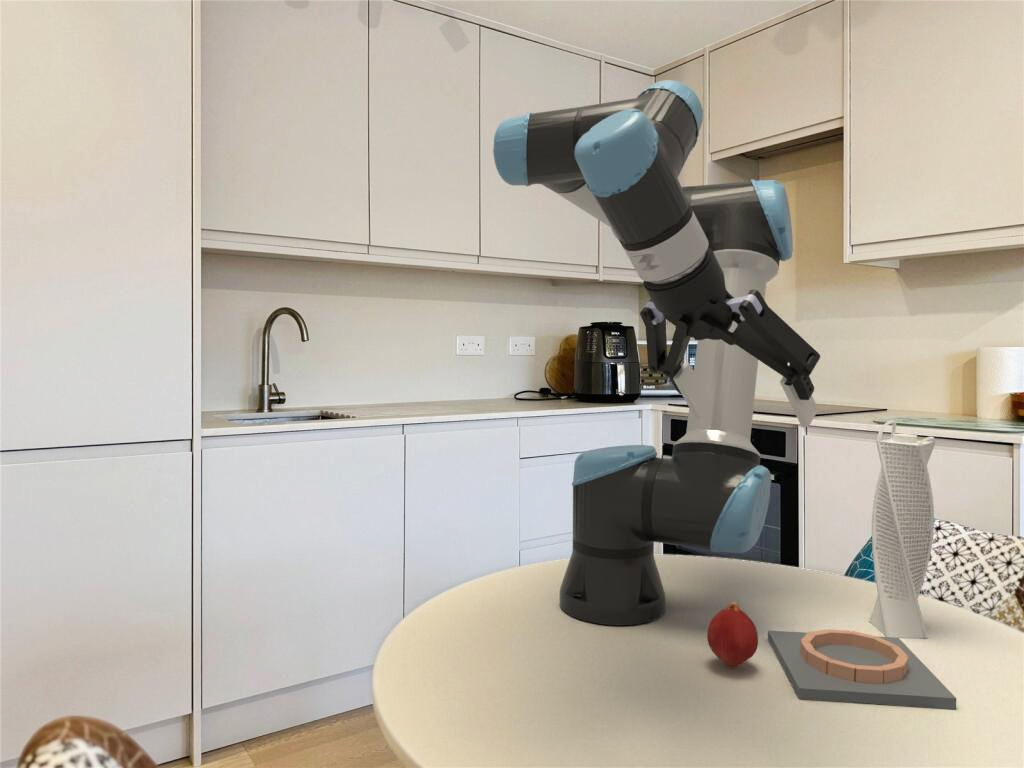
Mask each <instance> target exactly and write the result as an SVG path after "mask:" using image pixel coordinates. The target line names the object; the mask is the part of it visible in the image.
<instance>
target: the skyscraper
mask: <svg viewBox="0 0 1024 768" xmlns="http://www.w3.org/2000/svg"><path fill="white" fill-rule="evenodd" d="M888 425H889V426H890V425H891V426H892V427H891V432H890V433H891V434H890V438H885V439H883V440H881V439H882V435H883V433H884V430H885V428H886V427H887V426H888ZM896 429H897V422H896V421H895V420H893V419H890V420H888V421H885V423H884V424H882V426H881V427H880V429H879V430H878V433H877V436H876V440H875V443H876V447H877V451H878V457H879V461H880V465H881V466H880V469H879V470H880V471H879V474H878V478H877V482H876V485H875V491H874V496H873V497H874V498H873V504H872V513H871V514H872V515H871V547H872V560H873V568H874V570H873V571H874V576H875V577H874V578H875V584H876V589H877V596H876V598H875V601H874V605H873V608H872V611H871V614H870V617H869V619H868V622H869V623H870V624H872V625H873V626H874V627H875V628H877V630H879V632H881V633H882V634H883V635H884V636H885V637H896V638H899V639H907V638H908V639H928V638H929V637H928V633H927V629H926V626H925V621H924V618H923V616H922V615H923V614H922V611H921V607H920V603H919V597H920V593H921V590H922V588H923V585H924V582H925V578H926V574H927V570H928V566H929V563H930V557H931V553H932V548H933V539H934V531H935V530H934V528H935V509H934V508H935V507H934V497H933V491H932V490H933V489H932V485H931V479H930V474H929V470H928V469H929V468H928V463H929V461H930V458H931V455H932V453H933V449H934V448H935V445H936V438H935V437H934V436H927V437H924V438H923V439H922V440H918V435H917V434H913V433H911V434H910V433H896Z"/></svg>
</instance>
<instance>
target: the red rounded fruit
mask: <svg viewBox="0 0 1024 768" xmlns="http://www.w3.org/2000/svg"><path fill="white" fill-rule="evenodd" d="M706 637H707V644H708V646H709V648H710V649H711V652H712V653H713V654H714V655H715V656H716V657H717V658H718V660H720V661H721V662H722V663H724V664H725V666H726V667H728V668H729V669H736V668H738V667H739V666H741V665H742V664H743V663H745V662H746V661H748V660H749V659H750V658H752V657H753V656H754V655H755V653H757V649H758V646H759V635H758V629H757V627H756V625H755V623H754V621H753V620H752V619H751V617H750V616H748V615H747V613H746V612H744V611H743V610H741V609H740V607H739V604H738V602H736V601H732V602H730V604H729V605H727V607H726V608H724V609H721V610H720V611H718V612H717V613H716V614H715V615H714V616H713V618H711V620H710V622H709V624H708V627H707V636H706Z"/></svg>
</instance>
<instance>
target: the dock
mask: <svg viewBox="0 0 1024 768" xmlns="http://www.w3.org/2000/svg"><path fill="white" fill-rule="evenodd" d="M767 640H768V643H769V645H770V646H771V648H772V650H773V652H774V654H775V656H776V658H777V660H778V662H779V664H780V665H781V668H782V670H783V671H784V673H785V675H786V677H787V679H788V681H789V683H790V685H791V687H792V688H793V690H794V692H795V694H796V696H797V698H798V700H812V701H823V702H824V701H826V702H827V701H828V702H839V703H854V704H870V705H871V704H872V705H885V706H901V707H915V708H916V707H917V708H931V709H932V708H933V709H945V710H946V709H947V710H957V697H956V696H955V695H954V694H953V693H952V692H951V691H950V690H949V689H948V687H946V685H944V683H942V682H941V681H940V679H939V678H938V677H937V676H936V675H935V674H934V673H933V672H932V671H931V670H930V669H929V668H928V667H927V666H926V665H925V664H924V663H923V662H922V661H921V660H920V659H919V657H918V656H917V655H916V654H915V653H914V652H913V651H912V650H911V649H910V648H909V647H908V646H907V645H906V643H904V642H903V641H902V640H901V638H896V637H886V636H876V635H873V634H872V635H871V634H868V633H864V632H859V631H854V630H847V629H845V630H844V629H830V628H829V629H821V630H816V631H815V630H814V631H810V632H809V631H808V632H805V631H803V632H801V631H788V630H787V631H785V630H784V631H783V630H767Z"/></svg>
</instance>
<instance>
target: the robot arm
mask: <svg viewBox="0 0 1024 768" xmlns="http://www.w3.org/2000/svg"><path fill="white" fill-rule="evenodd" d="M703 121H704V109H703V106H702V103H701V100H700V99H699V97H698V95H697V93H695V91H694V90H693V89H692V88H690V87H689V86H688V85H687V84H685V83H682V82H681V81H678V80H673V79H668V80H667V79H665V80H659V81H657V82H654V83H652V84H651V85H649V86H648V87H647V88H646V89H643V91H642V92H640V94H638V95H637V97H636V98H634V97H633V98H628V99H623V100H621V99H620V100H615V101H608V102H603V103H595V104H591V105H589V104H588V105H584V106H576V107H570V108H562V109H556V110H547V111H541V112H533V113H532V112H527V113H526V114H523V115H519V116H514V117H509V118H506V119H505V120H503V121H502V122H501V123H499V125H498V127H497V128H496V130H495V133H494V136H493V151H492V153H493V160H494V165H495V167H496V170H497V172H498V175H499V176H500V177H501V179H502V180H503V181H504V183H506V184H508V185H510V186H526V187H531V186H533V185H541V186H544V187H545V188H547V189H549V190H551V191H552V192H554V193H555V194H557V195H558V196H560V197H561V198H563V199H565V200H567V201H568V202H569V203H571V204H573V205H574V206H576V207H577V208H579V209H581V210H582V211H584V212H585V213H586V214H589V215H590V216H592V217H594V218H595V219H596V220H598V221H600V222H601V223H603V225H604V224H605V225H606V226H607V227H610V229H611V232H612V234H613V235H614V237H615V238H616V239H617V240H618V241H619V243H620V244H621V246H622V248H623V250H624V252H625V254H626V256H627V257H628V259H629V261H630V263H631V264H632V266H633V268H634V270H635V272H636V273H637V276H638V277H639V279H640V280H642V281H643V283H642V284H643V287H644V289H645V290H646V292H647V294H648V296H649V298H650V299H649V300H648V302H647V303H646V305H644V307H643V308H642V310H640V312H639V315H640V317H641V320H642V322H643V323H644V326H645V339H646V352H647V353H646V355H647V368H648V370H649V371H650V372H651V373H654V374H655V373H656V374H657V373H658V372H662V374H663V375H664V376H665V377H666V378H668V379H670V381H671V383H672V385H673V387H674V389H675V390H676V392H678V394H680V395H682V397H683V399H684V401H685V402H686V404H687V406H688V407H689V409H688V415H687V416H688V417H687V423H686V425H687V426H686V433H685V434H684V435H683V436H682V437H681V438H679V439H678V440H676V441H675V442H673V446H672V455H671V458H663V457H657V456H658V452H657V449H656V447H655V446H653V445H645V444H631V445H629V444H628V445H618V446H617V445H615V446H608V447H607V446H605V447H600V448H593V449H590V450H586V451H583V452H581V453H580V454H578V456H576V459H575V461H574V465H573V480H572V483H571V486H572V551H571V552H572V553H571V555H570V558H569V561H568V564H567V566H566V569H565V572H564V576H563V578H562V582H561V584H560V589H559V607H560V608H561V609H562V611H564V613H566V614H568V615H569V616H571V617H573V618H576V619H578V620H581V621H584V622H589V623H594V624H599V625H609V626H632V625H639V624H644V623H650V622H652V621H654V620H657V619H659V618H660V617H662V616H663V615H664V613H665V611H666V592H665V588H664V586H663V582H662V579H661V576H660V572H659V570H658V569H659V568H658V566H657V563H656V558H655V555H654V554H655V553H654V552H655V551H654V548H655V543H659V544H660V543H662V544H667V545H673V546H681V547H685V548H686V547H687V548H695V549H701V550H707V551H711V552H714V553H719V552H725V553H734V554H735V553H736V554H744V553H746V552H748V551H750V550H751V549H752V548H753V547H754V546H755V545H756V543H757V542H758V540H759V538H760V536H761V533H762V531H763V528H764V524H765V521H766V517H767V513H768V510H769V504H770V498H771V492H770V491H771V485H772V476H771V475H772V474H771V472H770V470H769V469H768V468H767V467H765V466H764V465H761V453H760V452H759V450H757V449H756V447H755V446H754V445H753V444H752V442H751V435H752V427H753V426H752V425H753V416H754V406H755V395H756V388H757V387H756V385H757V376H758V375H757V374H758V367H759V366H758V365H759V361H760V362H761V363H763V364H764V365H766V366H767V367H769V368H770V369H772V370H773V371H775V372H776V373H777V374H779V375H780V376H782V377H781V378H780V381H779V383H780V385H781V387H782V390H783V392H784V393H785V397H787V399H788V402H789V404H790V406H791V408H792V410H793V412H794V414H795V416H796V418H797V420H798V423H799V424H800V426H801V428H809V427H810V425H811V423H812V422H813V421H814V419H815V416H816V414H817V413H818V411H819V408H818V405H817V404H816V403H817V402H816V401H815V399H814V397H813V393H814V392H815V386H814V384H813V381H812V380H811V378H810V376H811V374H812V372H813V371H814V369H815V367H816V366H817V364H818V363H819V360H820V359H821V355H820V353H819V352H818V351H817V350H815V349H816V348H814V347H813V346H811V345H810V343H808V342H807V341H806V340H805V339H804V338H803V337H802V336H801V335H800V334H799V333H798V332H797V331H795V330H794V329H793V328H792V327H791V326H790V325H788V323H787V322H786V321H784V320H783V319H782V318H781V317H780V316H779V315H778V314H777V313H776V312H775V311H774V310H773V309H771V307H769V305H768V304H767V302H766V301H765V299H766V298H765V297H766V286H767V283H768V282H770V281H771V280H773V279H774V278H776V276H777V275H778V273H779V270H780V269H779V268H780V261H781V262H786V261H788V260H790V259H791V258H792V257H793V251H794V241H793V229H792V219H791V210H790V205H789V204H790V203H789V198H788V195H787V191H786V188H785V185H784V184H783V183H782V182H780V181H778V180H776V179H769V180H768V179H767V180H765V179H764V180H755V179H750V181H740V182H727V183H725V182H724V183H716V184H705V185H704V184H703V185H692V186H689V185H688V186H682V185H681V183H680V181H679V176H680V174H681V172H682V170H683V168H684V165H685V163H686V162H687V160H688V157H689V156H690V154H691V152H692V151H693V149H694V148H695V146H696V144H697V142H698V137H699V136H700V131H701V128H702V124H703ZM667 321H668V322H670V323H671V325H673V326H674V328H675V330H674V332H673V336H672V339H671V341H672V342H671V345H670V348H669V350H668V343H667V340H668V339H667V337H668V336H667ZM691 338H692V339H694V341H697V343H696V349H695V350H696V351H695V359H694V360H695V361H694V368H693V367H692V366H691V364H690V362H684V363H683V364H682V362H683V361H684V359H685V354H686V351H687V349H688V346H689V344H690V340H691ZM788 364H789V365H788Z"/></svg>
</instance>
